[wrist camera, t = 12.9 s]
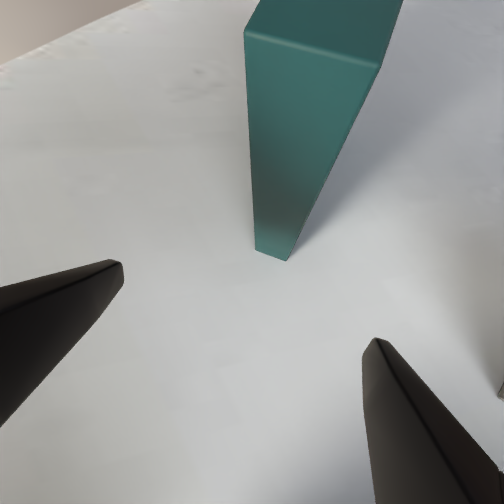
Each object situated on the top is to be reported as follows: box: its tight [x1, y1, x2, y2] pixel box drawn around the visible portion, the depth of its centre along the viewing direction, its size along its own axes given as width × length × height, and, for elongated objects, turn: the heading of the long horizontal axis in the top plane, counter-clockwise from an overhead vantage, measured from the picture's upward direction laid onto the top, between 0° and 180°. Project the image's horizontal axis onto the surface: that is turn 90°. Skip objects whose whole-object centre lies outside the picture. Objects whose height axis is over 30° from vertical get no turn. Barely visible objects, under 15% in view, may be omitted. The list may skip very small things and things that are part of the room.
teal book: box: [244, 0, 403, 261], centre depth 11 cm, size 6×2×14 cm, turn 159°
